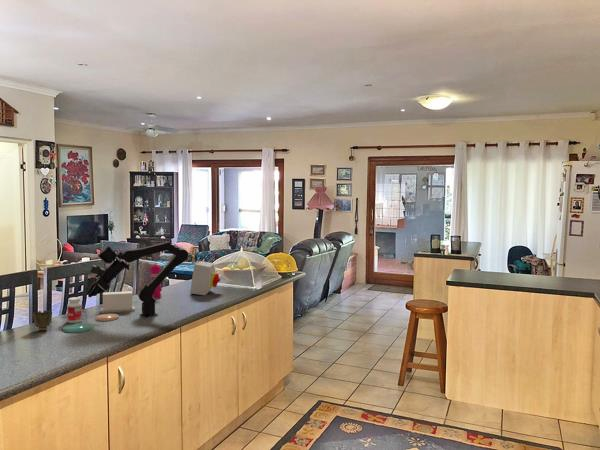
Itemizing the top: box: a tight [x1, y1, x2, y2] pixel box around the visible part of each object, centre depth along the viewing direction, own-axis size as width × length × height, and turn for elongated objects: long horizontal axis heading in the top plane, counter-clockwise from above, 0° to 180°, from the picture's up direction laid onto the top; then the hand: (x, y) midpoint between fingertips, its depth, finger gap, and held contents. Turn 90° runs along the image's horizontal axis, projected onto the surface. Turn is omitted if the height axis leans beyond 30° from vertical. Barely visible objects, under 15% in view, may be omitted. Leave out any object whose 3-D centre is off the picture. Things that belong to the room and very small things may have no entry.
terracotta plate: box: [95, 313, 120, 322], centre depth 234 cm, size 10×10×1 cm
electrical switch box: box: [189, 260, 221, 296], centre depth 294 cm, size 15×15×20 cm
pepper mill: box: [149, 262, 163, 299], centre depth 282 cm, size 7×7×20 cm
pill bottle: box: [66, 296, 83, 324], centre depth 227 cm, size 6×6×11 cm
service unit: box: [100, 290, 136, 314], centre depth 249 cm, size 7×16×9 cm, turn 110°
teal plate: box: [62, 322, 94, 334], centre depth 216 cm, size 12×12×1 cm
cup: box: [32, 309, 53, 332], centre depth 212 cm, size 8×7×8 cm
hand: (88, 294), depth 229 cm, fingers open, 9 cm apart
